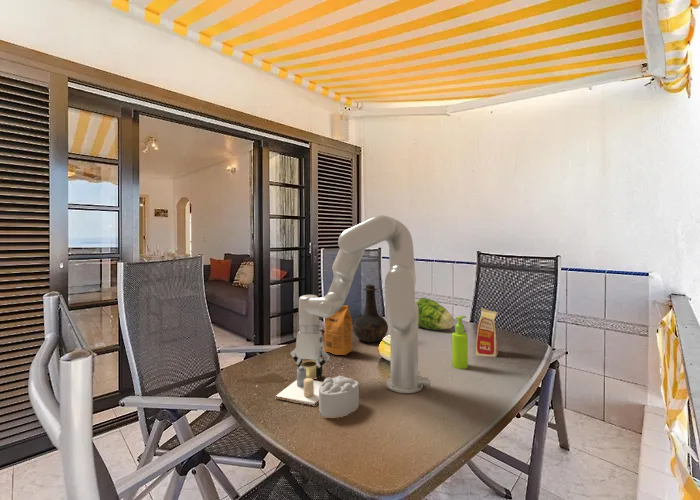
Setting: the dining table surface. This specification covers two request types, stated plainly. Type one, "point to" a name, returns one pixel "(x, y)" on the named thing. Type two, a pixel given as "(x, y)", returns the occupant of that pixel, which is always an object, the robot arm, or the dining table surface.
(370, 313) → the glass bottle
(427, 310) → the lettuce
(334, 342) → the coffee package
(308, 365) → the brass collar
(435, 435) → the dining table surface
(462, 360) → the soap dispenser
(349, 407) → the lumpy-topped squat cylinder
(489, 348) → the milk carton
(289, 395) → the post board
